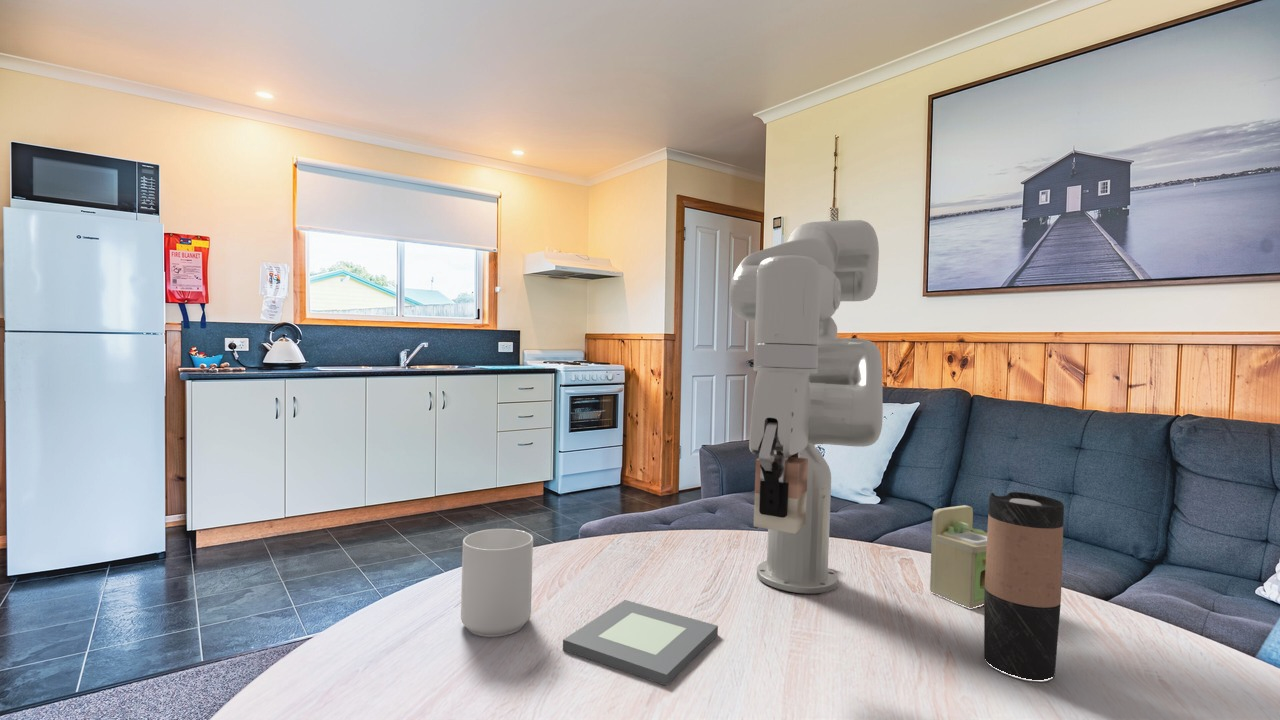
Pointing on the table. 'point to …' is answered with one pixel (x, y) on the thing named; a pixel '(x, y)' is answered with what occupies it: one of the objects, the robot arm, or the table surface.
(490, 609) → the mug
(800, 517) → the brick stack
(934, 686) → the table surface
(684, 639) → the base board
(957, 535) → the toy sink
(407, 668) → the table surface
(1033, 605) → the travel mug
